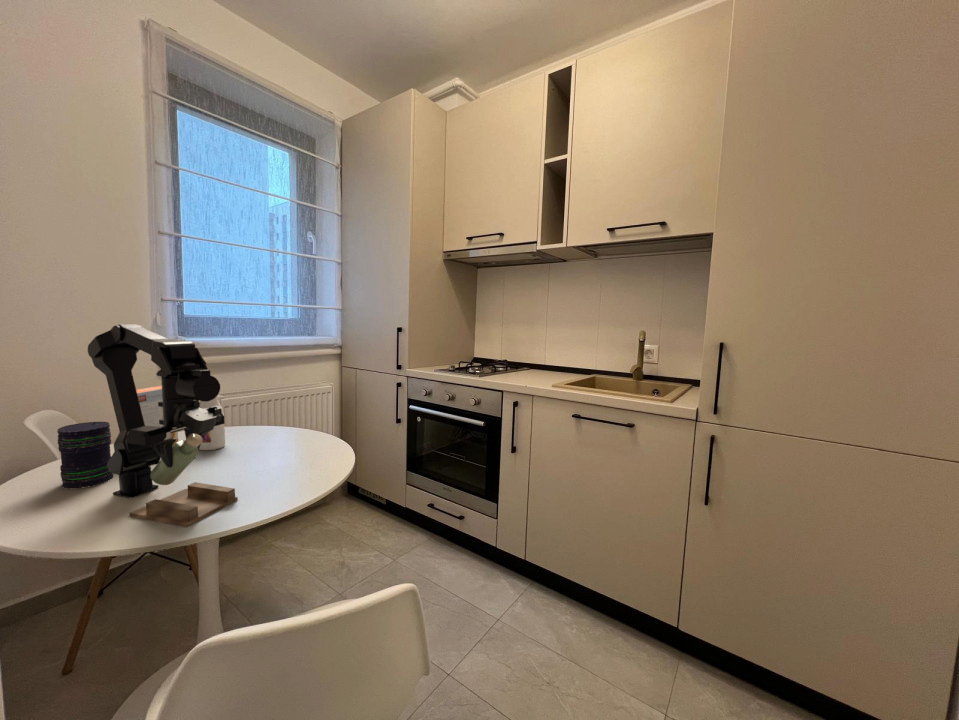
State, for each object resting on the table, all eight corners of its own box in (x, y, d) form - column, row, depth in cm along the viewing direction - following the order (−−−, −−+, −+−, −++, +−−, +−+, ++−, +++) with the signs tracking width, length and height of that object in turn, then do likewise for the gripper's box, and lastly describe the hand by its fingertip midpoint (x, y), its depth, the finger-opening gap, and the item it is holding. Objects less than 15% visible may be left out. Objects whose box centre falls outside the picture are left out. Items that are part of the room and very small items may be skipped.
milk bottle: (220, 442, 138) (218, 386, 136) (228, 447, 133) (226, 389, 131) (194, 447, 132) (191, 389, 130) (202, 452, 127) (199, 392, 125)
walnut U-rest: (129, 516, 87) (128, 502, 86) (185, 491, 99) (185, 479, 99) (186, 527, 83) (185, 512, 83) (237, 500, 96) (237, 487, 95)
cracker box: (164, 445, 133) (161, 384, 131) (179, 446, 132) (176, 385, 130) (119, 459, 119) (115, 392, 117) (136, 461, 118) (131, 393, 116)
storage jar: (91, 489, 99) (86, 432, 98) (49, 489, 98) (44, 431, 97) (123, 473, 109) (120, 421, 107) (86, 473, 108) (82, 421, 107)
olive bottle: (145, 471, 90) (177, 433, 86) (168, 463, 95) (199, 427, 91) (158, 488, 89) (191, 451, 86) (180, 479, 94) (212, 444, 91)
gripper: (164, 408, 78) (168, 483, 79) (241, 392, 96) (243, 453, 97) (122, 403, 80) (126, 476, 82) (205, 388, 98) (207, 448, 100)
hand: (181, 462), depth 90 cm, fingers closed on olive bottle, 5 cm apart
